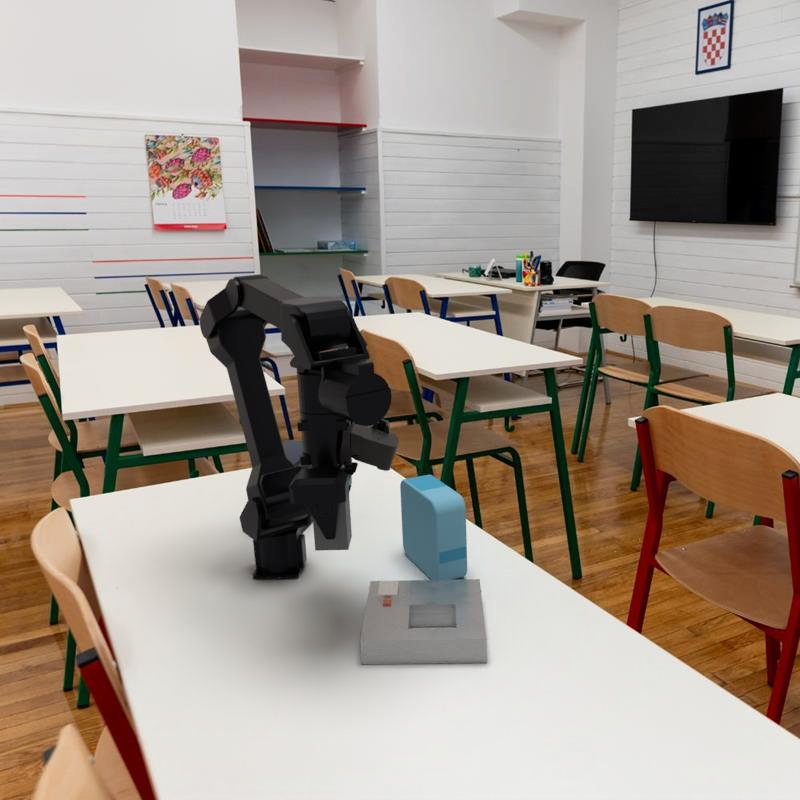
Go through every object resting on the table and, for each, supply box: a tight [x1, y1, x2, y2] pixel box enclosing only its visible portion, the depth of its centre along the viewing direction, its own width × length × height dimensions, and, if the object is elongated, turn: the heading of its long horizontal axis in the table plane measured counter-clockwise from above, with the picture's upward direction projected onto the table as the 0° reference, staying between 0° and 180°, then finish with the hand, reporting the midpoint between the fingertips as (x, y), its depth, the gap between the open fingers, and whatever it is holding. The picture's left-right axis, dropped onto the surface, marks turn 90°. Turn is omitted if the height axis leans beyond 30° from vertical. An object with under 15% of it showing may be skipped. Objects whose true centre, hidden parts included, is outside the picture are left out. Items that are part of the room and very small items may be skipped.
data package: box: [399, 474, 468, 580], centre depth 108 cm, size 12×4×12 cm, turn 23°
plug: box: [312, 475, 353, 551], centre depth 94 cm, size 5×5×8 cm
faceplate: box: [359, 578, 488, 665], centre depth 93 cm, size 14×14×4 cm
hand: (332, 531), depth 95 cm, fingers closed on plug, 4 cm apart
